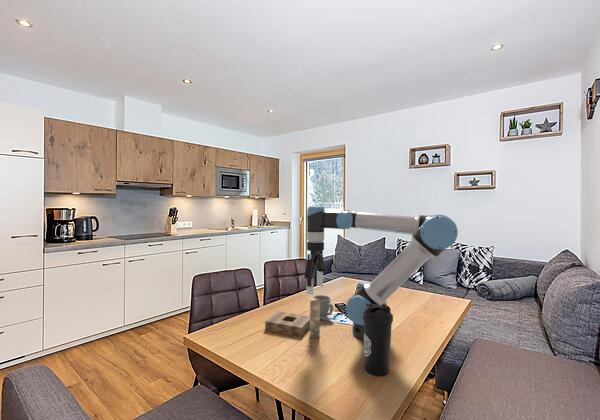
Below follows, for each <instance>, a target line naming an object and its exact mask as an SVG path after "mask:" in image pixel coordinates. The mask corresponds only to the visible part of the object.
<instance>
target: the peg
mask: <svg viewBox="0 0 600 420" xmlns="http://www.w3.org/2000/svg"><path fill="white" fill-rule="evenodd" d="M309 316H310V328H309V337H310V338H312V339H318V338H320V336H321V334H320V333H321V325H320V324H321V318H320V299H317V298H310V299H309Z"/></svg>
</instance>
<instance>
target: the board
mask: <svg viewBox="0 0 600 420" xmlns="http://www.w3.org/2000/svg"><path fill="white" fill-rule="evenodd" d="M264 322H265V323H264V327H265V328H264V330H265V331H268V332H275V333H280V334H286V335H290V336H296V337H303V336H304V335H305V334H306V333H307V331H308V330H310V315H304V314H300V313H299V314H298V313H297V314H296V313H292V312H285V311H279V310H278V311H277V312H276V313H274V314H273V315H271V317H268V318H267V319H266V320H265V321H264Z"/></svg>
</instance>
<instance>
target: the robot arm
mask: <svg viewBox="0 0 600 420" xmlns="http://www.w3.org/2000/svg"><path fill="white" fill-rule="evenodd" d="M306 210H307V212H306V224H307V225H306V228H307V230H306V233H305V235H306V241H307V242H306V250H307V251H308V252H310V254H309V253H307V257H306V259H307V260H306V265H305V272H304V279H306V294H307V295H314V278H313V277H314V272H315V268H316V270H317V271H316V286H317V287H323V286H324V272H325V271H326V267H325V260H324V255H323V254H324V253H323V251H324V250H325V242H324V241H325V229H334V230H335V229H336V230H337V229H338V230H349V229H351V228H353V229H361V230H362V229H363V230H370V231H376V232H377V231H378V232H385V233H386V232H387V233H394V234H403V235H411V241H410V243H408V245H406V247H405V248H404V249H402V251H401V252H400V253H398V255H397V256H396V257H395V258H394V259H393V260H392V261H391V262H390V263H389V264H388V265H387V266H386V267H385V268H384V269H383V270H382V271H381V272H380V273H379V274H378V275H377V276H375V278H374V279H373V280H372V281H359V282H357V286H356V292H354V294H353V295H352V296H351V297H349V299H348V300H347V302H346V305H345V310H346V315H347V316H348V318H349V319H350V320H351V321H352V322H353V324H352V334H353V336H355V337H356V338H358V339H361V340H363V341H364V320H363V312H364V311H365V309H366V308H368V307H367V306H366V304H368V303H371V304H376V305H382V304H384V303H385V304H387V300H388V299H389V298H390V297H391V296H392V295H393V294H394V293H395V292H396V291H398V289H399V288H401V286H403V284H404V283H405V282H406V281H408V279H409V278H411V276H412V275H413V274H415V273H416V272H417V271H418V270H419V269H420V268H421V266H423V265H424V264H425V263H426V262H427V261H428V260H429V259H431V258H438V256H440V255H441V254H442V253H443V252H444V251H445V250H446V249H448V248H450V247H451V246H452V245H454V243H456V241H457V238H458V234H459V231H458V227H457V224H456V223H455V221H453V220H452V218H450V217H449V216H447V215H445V214H433V215H432V214H431V215H422V214H421V215H420V214H419V215H418V216H408V215H396V214H386V213H385V214H384V213H375V212H365V211H364V212H363V211H354V210H353V211H352V210H348V209H347V210H325V207H324V206H318V205H317V206H315V205H312V206H311V205H310V206H308V207H307V209H306ZM387 305H388V304H387Z"/></svg>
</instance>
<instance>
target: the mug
mask: <svg viewBox="0 0 600 420" xmlns="http://www.w3.org/2000/svg"><path fill="white" fill-rule="evenodd" d="M313 298H317V299H320V319H325V318H327V317H328V316H330V315H332V313H333V311H334V305H333V304H332V303H331V297H330V296H328V295H323V294H321V295H314V296H313ZM313 298H312V299H313ZM326 316H327V317H326ZM324 317H325V318H324Z"/></svg>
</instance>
